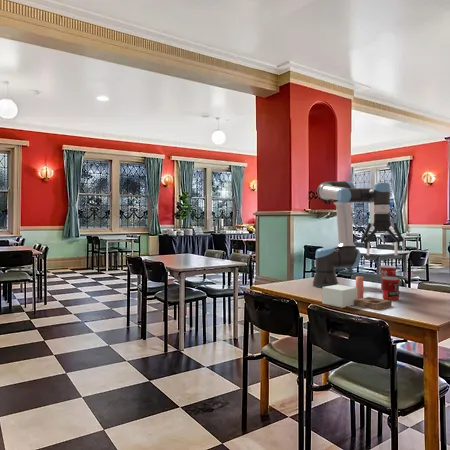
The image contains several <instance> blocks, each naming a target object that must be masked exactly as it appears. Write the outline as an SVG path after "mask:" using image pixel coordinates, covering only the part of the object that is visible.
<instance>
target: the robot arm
mask: <svg viewBox="0 0 450 450" xmlns="http://www.w3.org/2000/svg"><path fill="white" fill-rule="evenodd" d="M390 187H391V185H390V183H389V182H375V183H374V184H373V187H370V188H369V187H367V188H366V187H362V188H361V187H359V188H358V187H357V188H356V186H355V184H354V183H353V182H351V181H345V180H343V181H341V180H340V181H331V180H330V181H324V182H322V183H320V184H319V185H318V187H317V189H316V192H317V196H318V197H319V198H320V199H322V200H325V201H332V202H333V205H335V207H336V208H335V209H336V222H337V223H336V224H337V238H338V241H337V242H338V244H337V245H336V247H334V246H329V247H328V246H326V247H321V248H317V249H316V251H315V256H314V257H315V273H314V277H313V281H312V286H313V287H315V286H316V287H315V288H321V287H326V286H332V285H339V281H338V276H337V275H336V269H355V268H357V267H358V266H359V265H360V262H361V257H362V256H361V255H362V254H361V251H360V249H358V248H357V245H356V244H355V243H354V237H353V235H354V233H353V222H352V211H351V210H352V209H351V205H352V204H353V203H368V204H372V203H373V213H374V214H373V223H371V222H368V223H367V224H366V228H365V231H364V232H363V234H362V236H361V238H360V241H361V242H363V243H364V249H366V256H370V242H369V241H370V240H371V239H372V238H373V237H374V236H375V234H376V233H377V232H379V233H380V232H381V233H382V232H383V233H386V232H387V233H388V234H389V235H390V236H391V238H392V239H393V240H394V241H395V242H394V246H393V247H394V248H393V249H394V253H393V254H394V255H393V256H398V255H399V252H398V250H399V249H401V248H400V246H401V245H400V243H401V242H403V241H404V238H403V235H402V234H401V232H400V230H399V228H398V225H397V222H393V223H391V215H390V212H391V208H390V207H391V205H390V204H391V203H390V202H391V189H390ZM372 227H373V228H374V229H373V230H372V231H371V232H370V229H371V228H372ZM390 227H392V228H393V230H394V232H395V234H396V235H395V234H394V232H393V231H392V230H391V229H390ZM369 232H370V234H369ZM368 234H369V235H368Z"/></svg>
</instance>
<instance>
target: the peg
mask: <svg viewBox="0 0 450 450" xmlns="http://www.w3.org/2000/svg"><path fill="white" fill-rule="evenodd" d="M355 287H356V288H357V299H361V298H364V276H355Z"/></svg>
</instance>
